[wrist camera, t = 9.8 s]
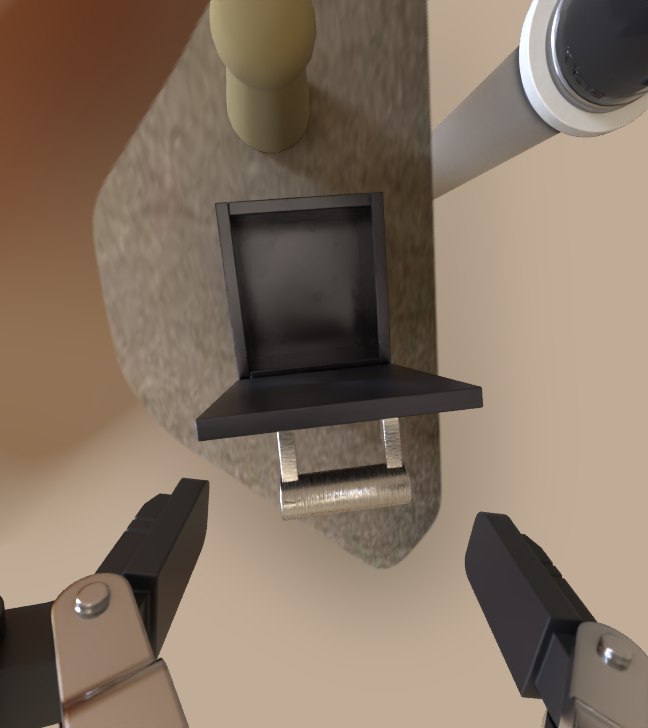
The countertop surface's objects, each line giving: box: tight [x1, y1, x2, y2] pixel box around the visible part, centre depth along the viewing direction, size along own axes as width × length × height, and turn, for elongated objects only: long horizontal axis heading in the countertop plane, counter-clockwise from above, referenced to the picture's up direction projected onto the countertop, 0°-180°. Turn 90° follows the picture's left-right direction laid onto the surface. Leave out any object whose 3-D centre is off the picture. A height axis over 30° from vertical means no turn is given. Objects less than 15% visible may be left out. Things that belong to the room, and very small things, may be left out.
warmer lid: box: [195, 364, 483, 520], centre depth 21 cm, size 12×11×5 cm
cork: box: [209, 0, 316, 153], centre depth 23 cm, size 6×6×11 cm
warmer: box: [215, 192, 391, 380], centre depth 29 cm, size 12×11×6 cm
